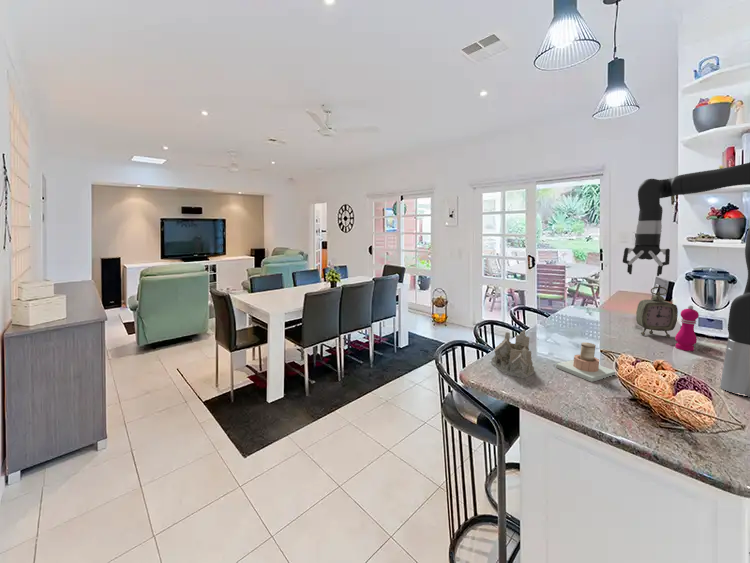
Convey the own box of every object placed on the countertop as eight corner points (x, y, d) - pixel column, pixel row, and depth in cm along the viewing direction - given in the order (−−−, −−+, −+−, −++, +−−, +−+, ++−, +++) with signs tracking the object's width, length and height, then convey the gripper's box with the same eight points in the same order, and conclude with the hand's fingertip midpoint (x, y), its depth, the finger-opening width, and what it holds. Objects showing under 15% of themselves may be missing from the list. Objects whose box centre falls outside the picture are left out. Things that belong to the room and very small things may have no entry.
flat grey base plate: (616, 375, 127) (617, 362, 126) (591, 381, 121) (593, 368, 121) (579, 361, 140) (581, 350, 139) (556, 367, 134) (557, 355, 133)
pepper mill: (699, 352, 152) (706, 307, 149) (680, 350, 154) (686, 306, 151) (688, 346, 159) (694, 304, 156) (670, 345, 161) (676, 303, 158)
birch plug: (595, 368, 129) (598, 345, 128) (587, 370, 127) (590, 347, 126) (584, 364, 133) (586, 341, 132) (576, 366, 131) (578, 343, 130)
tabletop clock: (639, 336, 175) (646, 287, 171) (632, 331, 184) (638, 284, 180) (674, 338, 171) (681, 288, 167) (665, 333, 180) (671, 286, 176)
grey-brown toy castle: (495, 356, 144) (498, 322, 141) (538, 367, 135) (542, 331, 132) (482, 371, 132) (485, 334, 129) (528, 384, 123) (533, 344, 119)
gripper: (624, 232, 134) (620, 274, 137) (672, 232, 125) (667, 277, 128) (626, 233, 140) (622, 273, 142) (672, 233, 131) (667, 275, 133)
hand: (643, 275), depth 135 cm, fingers open, 8 cm apart
